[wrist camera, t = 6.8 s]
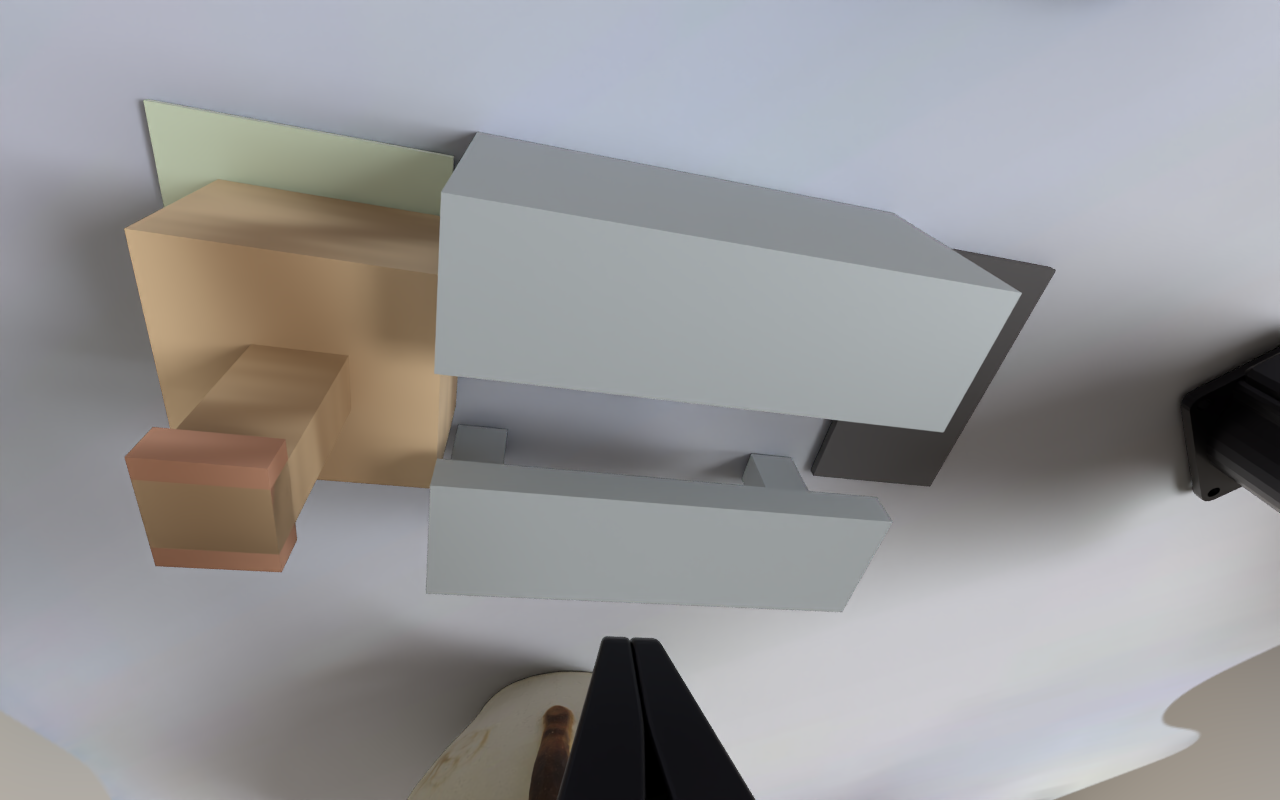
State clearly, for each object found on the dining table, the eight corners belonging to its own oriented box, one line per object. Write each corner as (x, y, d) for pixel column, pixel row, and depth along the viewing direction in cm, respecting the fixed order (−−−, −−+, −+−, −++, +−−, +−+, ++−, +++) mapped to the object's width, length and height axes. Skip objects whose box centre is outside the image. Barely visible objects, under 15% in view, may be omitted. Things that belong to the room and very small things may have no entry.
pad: (454, 155, 16) (453, 157, 16) (440, 434, 21) (440, 438, 20) (148, 98, 15) (143, 100, 14) (207, 412, 19) (204, 416, 19)
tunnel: (893, 213, 18) (1022, 293, 13) (781, 482, 24) (841, 612, 19) (477, 131, 16) (441, 192, 11) (456, 452, 21) (426, 593, 16)
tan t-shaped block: (467, 220, 17) (399, 388, 9) (455, 405, 20) (398, 638, 12) (218, 178, 15) (-81, 335, 8) (248, 383, 18) (50, 629, 11)
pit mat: (1049, 266, 20) (1055, 270, 20) (926, 481, 24) (930, 486, 24) (912, 241, 19) (917, 244, 19) (810, 470, 23) (813, 475, 23)
